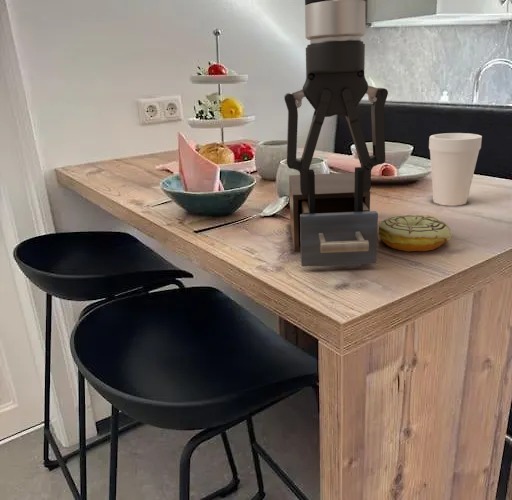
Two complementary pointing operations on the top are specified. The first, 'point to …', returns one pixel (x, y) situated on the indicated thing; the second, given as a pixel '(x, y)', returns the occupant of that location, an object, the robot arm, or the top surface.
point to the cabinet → (320, 196)
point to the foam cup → (453, 166)
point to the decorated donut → (414, 232)
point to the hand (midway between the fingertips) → (335, 214)
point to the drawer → (337, 233)
